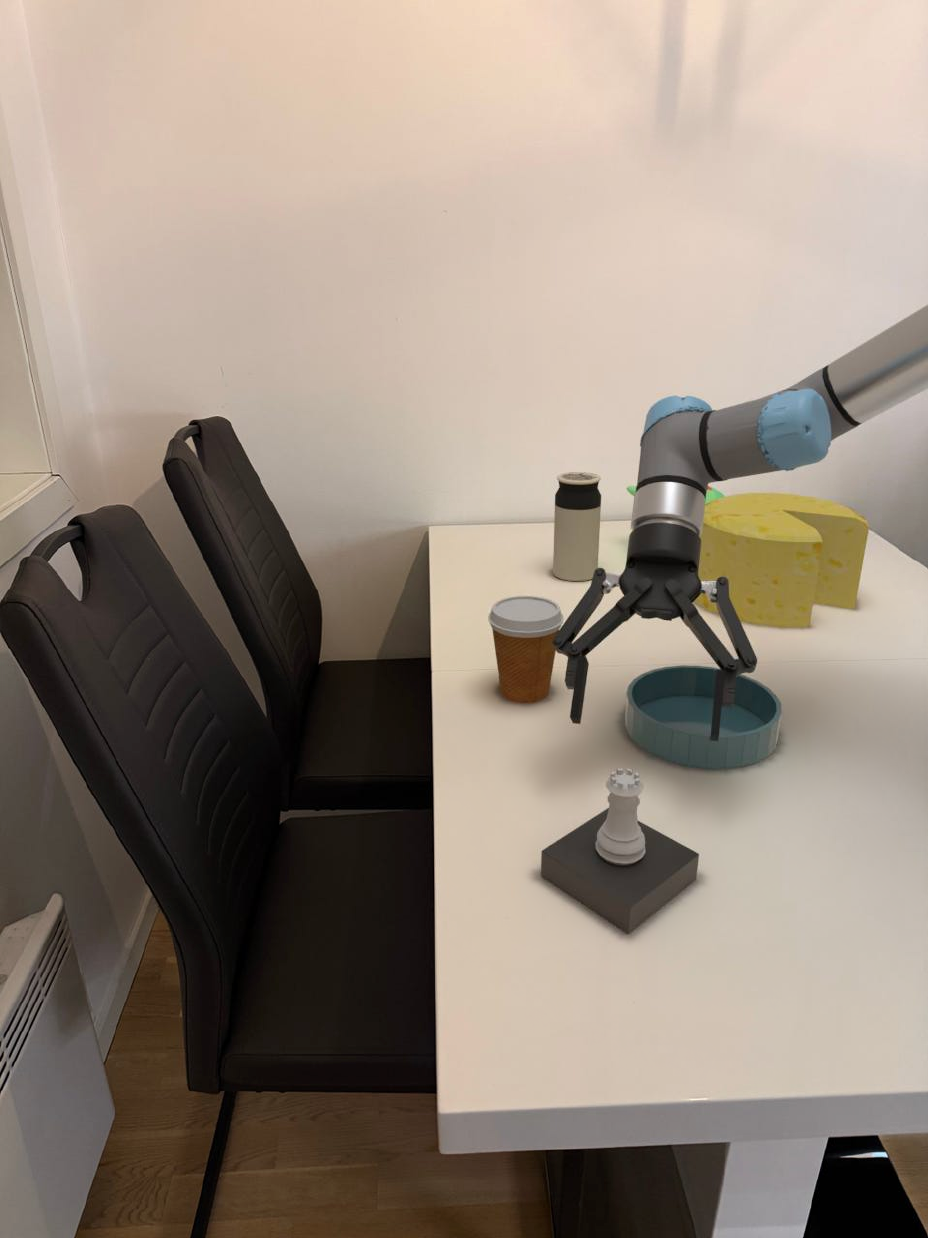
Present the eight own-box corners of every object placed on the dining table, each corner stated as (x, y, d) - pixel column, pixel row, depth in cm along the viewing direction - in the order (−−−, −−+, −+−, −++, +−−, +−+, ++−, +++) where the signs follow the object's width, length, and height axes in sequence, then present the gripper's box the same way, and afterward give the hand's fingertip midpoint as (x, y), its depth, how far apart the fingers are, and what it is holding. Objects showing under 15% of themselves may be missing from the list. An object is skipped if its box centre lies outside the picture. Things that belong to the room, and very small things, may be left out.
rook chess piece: (651, 866, 73) (658, 789, 70) (600, 869, 73) (605, 792, 70) (638, 834, 78) (643, 760, 74) (590, 837, 77) (594, 763, 74)
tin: (810, 750, 96) (815, 717, 94) (681, 784, 90) (685, 750, 88) (713, 685, 111) (716, 655, 109) (597, 711, 105) (599, 680, 103)
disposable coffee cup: (491, 675, 115) (490, 593, 110) (561, 677, 114) (563, 595, 109) (485, 709, 106) (485, 622, 101) (561, 711, 105) (564, 624, 100)
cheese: (873, 633, 126) (891, 537, 120) (693, 623, 130) (703, 530, 124) (835, 574, 149) (848, 491, 143) (684, 567, 154) (691, 487, 148)
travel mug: (587, 585, 146) (591, 484, 139) (545, 578, 150) (548, 479, 143) (604, 571, 153) (609, 474, 146) (563, 565, 156) (566, 469, 149)
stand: (696, 880, 76) (699, 853, 75) (628, 936, 70) (630, 907, 69) (609, 830, 83) (611, 805, 82) (540, 877, 77) (541, 850, 76)
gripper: (786, 556, 89) (772, 753, 83) (555, 542, 96) (527, 722, 90) (794, 526, 82) (780, 737, 76) (545, 512, 90) (513, 705, 83)
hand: (643, 729), depth 83 cm, fingers open, 13 cm apart
